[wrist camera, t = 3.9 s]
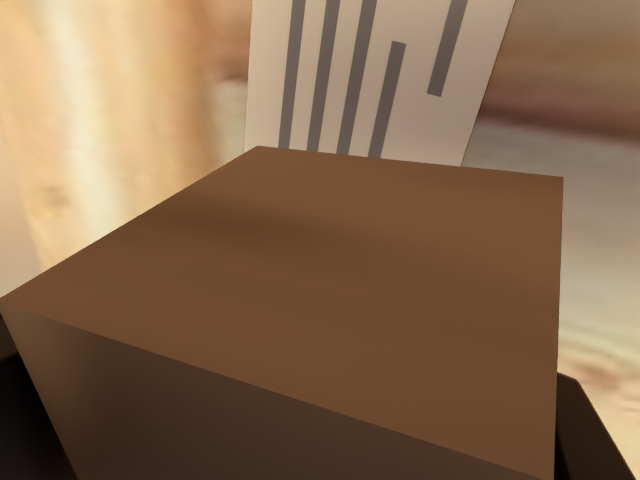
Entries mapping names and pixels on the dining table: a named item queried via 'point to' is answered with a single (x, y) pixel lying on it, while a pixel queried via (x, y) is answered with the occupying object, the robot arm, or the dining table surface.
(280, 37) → the letter
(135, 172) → the dining table surface
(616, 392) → the dining table surface
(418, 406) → the walnut block
